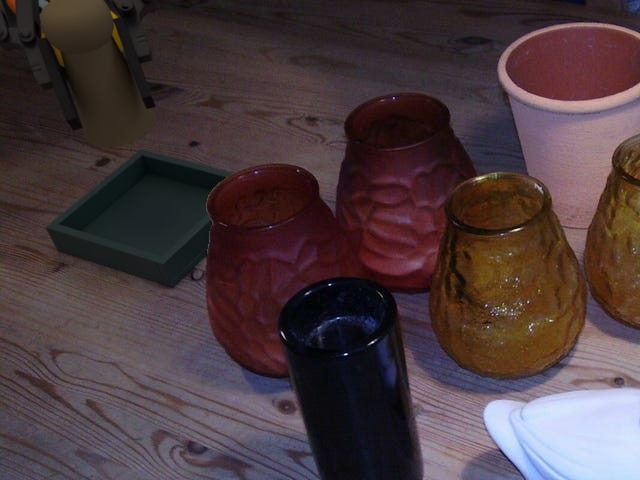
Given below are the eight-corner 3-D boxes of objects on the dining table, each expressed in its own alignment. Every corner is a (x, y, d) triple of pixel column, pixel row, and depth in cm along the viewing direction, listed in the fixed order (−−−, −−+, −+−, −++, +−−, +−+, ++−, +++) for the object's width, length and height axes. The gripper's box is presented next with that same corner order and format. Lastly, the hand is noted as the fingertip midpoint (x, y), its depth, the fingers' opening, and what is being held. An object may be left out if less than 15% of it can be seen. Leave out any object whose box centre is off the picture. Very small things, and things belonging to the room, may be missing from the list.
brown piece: (172, 119, 83) (124, -8, 75) (112, 155, 80) (57, 27, 72) (128, 99, 86) (79, -25, 78) (69, 134, 83) (12, 8, 75)
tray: (56, 250, 89) (45, 227, 87) (150, 171, 96) (140, 148, 94) (173, 287, 84) (162, 263, 82) (262, 201, 91) (254, 177, 89)
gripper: (-135, -172, 72) (-22, 135, 72) (116, -228, 75) (222, 65, 76) (-96, -118, 79) (7, 159, 80) (131, -172, 83) (228, 95, 83)
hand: (112, 113), depth 78 cm, fingers closed on brown piece, 5 cm apart
